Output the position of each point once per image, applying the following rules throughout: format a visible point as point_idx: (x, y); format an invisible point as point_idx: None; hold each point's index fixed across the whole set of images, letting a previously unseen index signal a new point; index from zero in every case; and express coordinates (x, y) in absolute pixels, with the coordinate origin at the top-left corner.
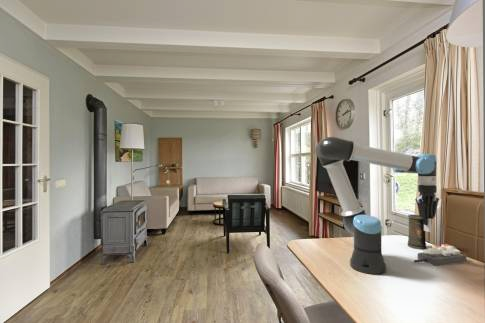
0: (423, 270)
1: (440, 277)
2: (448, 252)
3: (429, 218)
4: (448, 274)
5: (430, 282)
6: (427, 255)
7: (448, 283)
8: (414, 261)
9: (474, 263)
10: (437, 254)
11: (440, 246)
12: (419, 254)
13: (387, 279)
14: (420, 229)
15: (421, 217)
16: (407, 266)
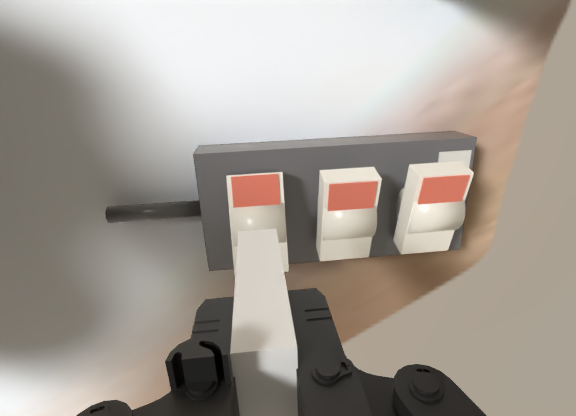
0: (95, 283)
1: (116, 352)
2: (347, 256)
3: (297, 407)
4: (185, 334)
5: (26, 381)
6: (223, 205)
7: (102, 394)
8: (109, 209)
9: (450, 259)
10: (308, 203)
11: (370, 201)
12: (195, 167)
13: None
14: None
15: (187, 342)
16: (38, 227)
